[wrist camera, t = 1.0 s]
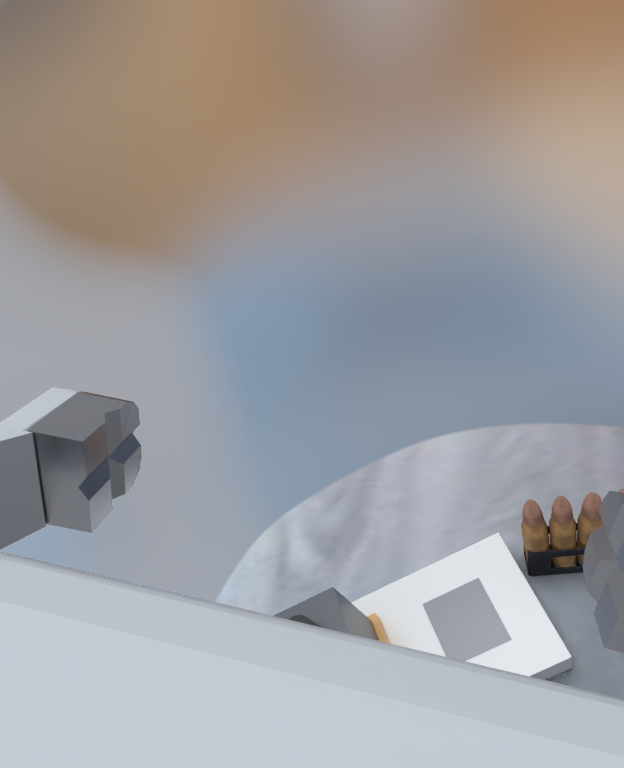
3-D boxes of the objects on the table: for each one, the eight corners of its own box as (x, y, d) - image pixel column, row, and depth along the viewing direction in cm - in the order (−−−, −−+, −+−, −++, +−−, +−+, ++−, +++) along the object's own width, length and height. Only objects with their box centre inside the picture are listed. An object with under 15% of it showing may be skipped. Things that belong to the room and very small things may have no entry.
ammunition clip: (528, 576, 43) (516, 517, 34) (524, 552, 44) (511, 489, 35) (689, 563, 40) (723, 495, 31) (679, 537, 41) (710, 464, 32)
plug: (390, 627, 44) (325, 567, 32) (419, 699, 40) (358, 661, 29) (329, 655, 44) (244, 607, 33) (353, 729, 41) (267, 703, 29)
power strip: (503, 550, 45) (497, 528, 41) (571, 667, 39) (571, 654, 35) (255, 667, 47) (228, 656, 43) (286, 796, 41) (258, 797, 37)
